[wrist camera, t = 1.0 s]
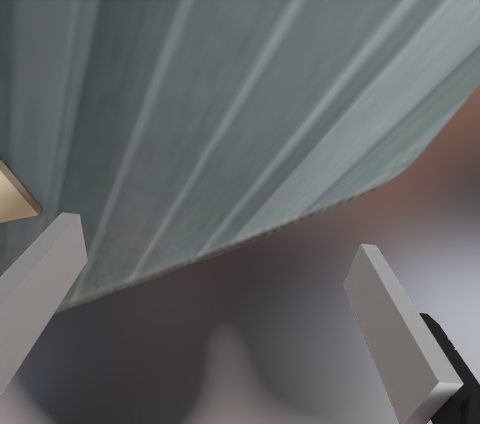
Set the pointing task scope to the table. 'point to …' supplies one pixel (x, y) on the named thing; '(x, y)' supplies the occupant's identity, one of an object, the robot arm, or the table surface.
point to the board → (14, 198)
